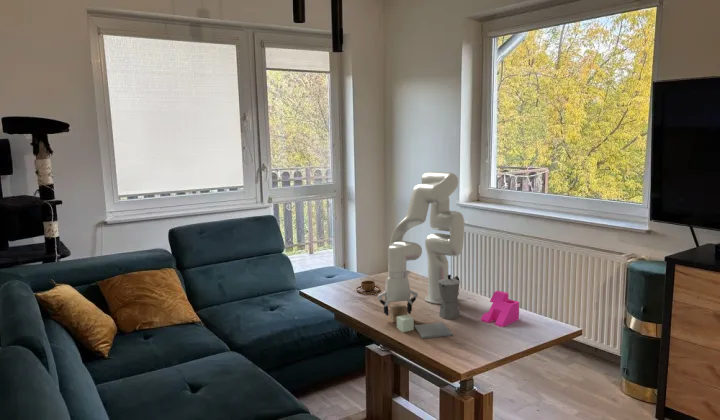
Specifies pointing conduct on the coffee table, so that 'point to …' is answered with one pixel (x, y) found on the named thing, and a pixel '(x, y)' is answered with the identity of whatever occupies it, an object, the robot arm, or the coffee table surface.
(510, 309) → the pink angular chunky piece
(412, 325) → the pale green block
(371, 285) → the place setting
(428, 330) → the slate coaster
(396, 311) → the walnut cube
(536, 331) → the coffee table surface
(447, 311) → the coffeepot
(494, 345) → the coffee table surface
